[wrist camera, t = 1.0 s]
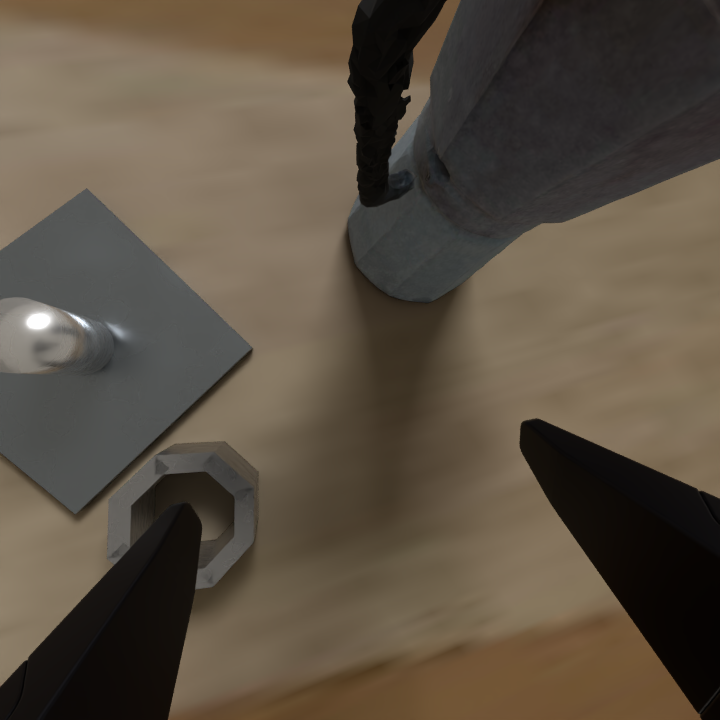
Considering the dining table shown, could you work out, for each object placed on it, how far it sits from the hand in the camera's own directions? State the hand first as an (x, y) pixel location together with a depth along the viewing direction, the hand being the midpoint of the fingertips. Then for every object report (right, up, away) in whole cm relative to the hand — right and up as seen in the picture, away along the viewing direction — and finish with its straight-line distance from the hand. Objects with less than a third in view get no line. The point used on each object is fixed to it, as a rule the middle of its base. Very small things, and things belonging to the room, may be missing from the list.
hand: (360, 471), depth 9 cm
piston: (-15, +4, +9) cm, 18 cm away
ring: (-9, -5, +10) cm, 14 cm away
